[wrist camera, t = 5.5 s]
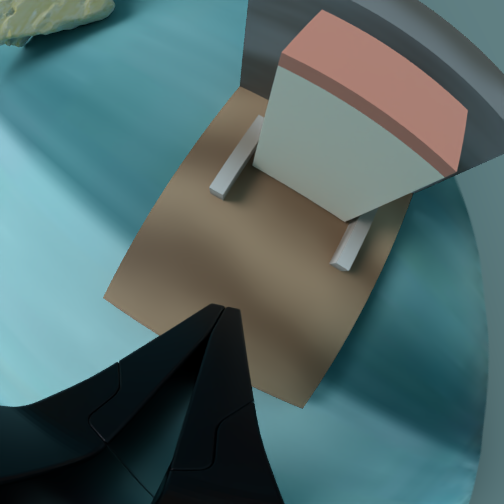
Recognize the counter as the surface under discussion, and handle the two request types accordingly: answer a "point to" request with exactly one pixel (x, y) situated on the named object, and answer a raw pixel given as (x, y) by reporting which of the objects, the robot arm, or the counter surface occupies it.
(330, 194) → the pink-topped white block
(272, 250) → the wooden platform
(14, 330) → the counter surface
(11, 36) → the cheese
